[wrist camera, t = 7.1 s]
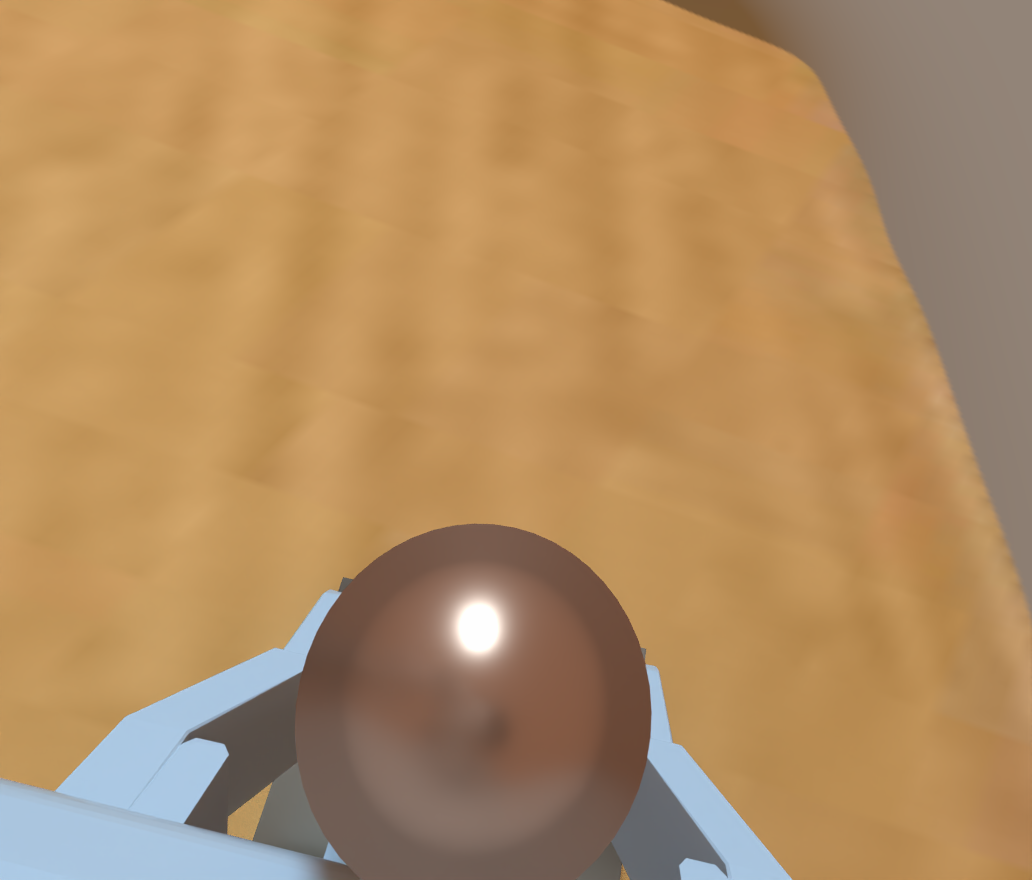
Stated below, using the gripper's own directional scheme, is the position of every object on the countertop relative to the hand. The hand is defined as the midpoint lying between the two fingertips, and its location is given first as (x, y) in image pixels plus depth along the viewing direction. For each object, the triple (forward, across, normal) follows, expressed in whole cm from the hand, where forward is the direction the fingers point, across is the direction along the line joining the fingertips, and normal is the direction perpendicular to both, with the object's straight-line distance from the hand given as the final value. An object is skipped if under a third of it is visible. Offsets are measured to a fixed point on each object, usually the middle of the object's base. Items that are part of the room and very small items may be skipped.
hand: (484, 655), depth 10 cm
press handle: (+2, 0, +6) cm, 6 cm away
